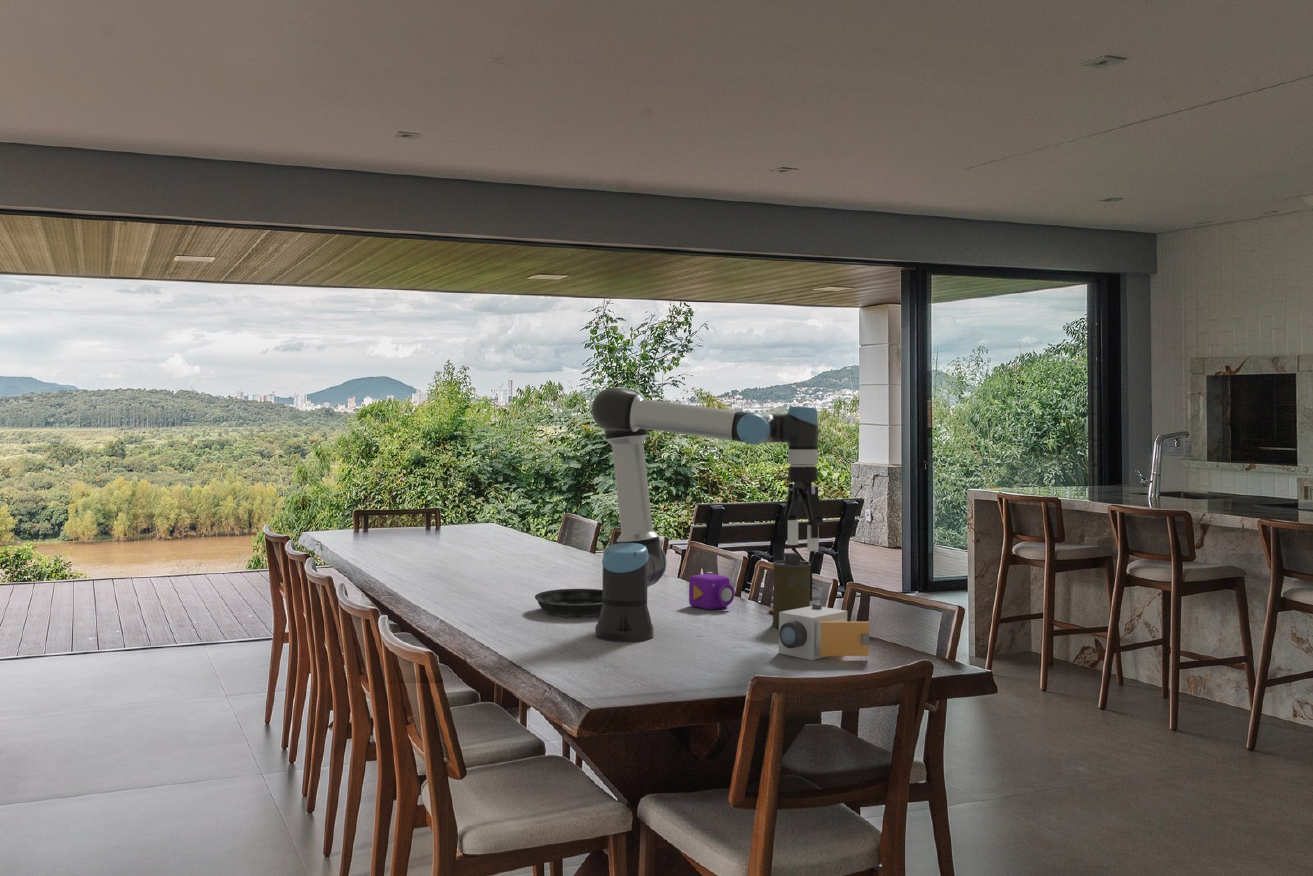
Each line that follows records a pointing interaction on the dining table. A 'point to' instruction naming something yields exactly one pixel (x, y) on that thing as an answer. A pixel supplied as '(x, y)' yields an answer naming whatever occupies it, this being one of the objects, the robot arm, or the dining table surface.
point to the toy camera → (710, 591)
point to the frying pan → (571, 602)
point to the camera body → (804, 629)
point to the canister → (791, 585)
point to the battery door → (842, 638)
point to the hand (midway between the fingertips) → (802, 547)
